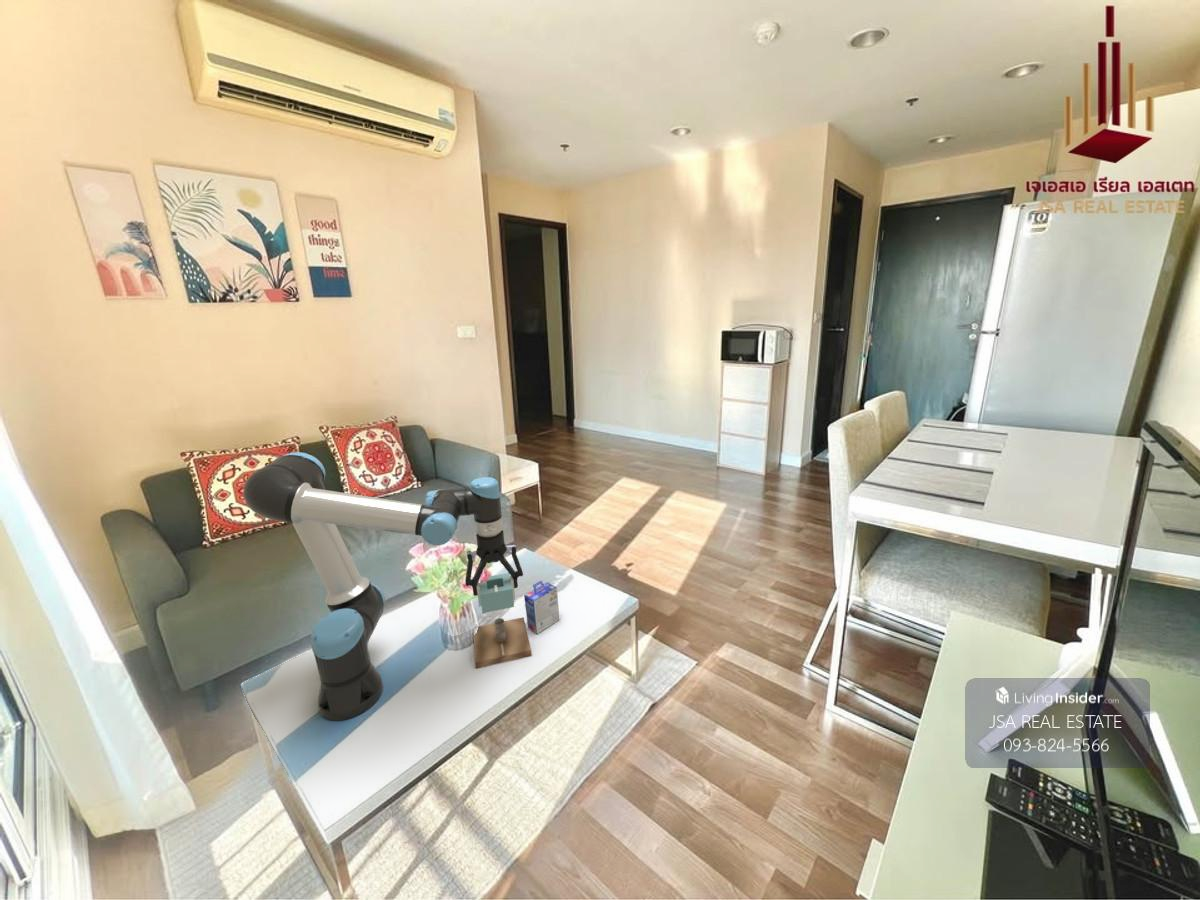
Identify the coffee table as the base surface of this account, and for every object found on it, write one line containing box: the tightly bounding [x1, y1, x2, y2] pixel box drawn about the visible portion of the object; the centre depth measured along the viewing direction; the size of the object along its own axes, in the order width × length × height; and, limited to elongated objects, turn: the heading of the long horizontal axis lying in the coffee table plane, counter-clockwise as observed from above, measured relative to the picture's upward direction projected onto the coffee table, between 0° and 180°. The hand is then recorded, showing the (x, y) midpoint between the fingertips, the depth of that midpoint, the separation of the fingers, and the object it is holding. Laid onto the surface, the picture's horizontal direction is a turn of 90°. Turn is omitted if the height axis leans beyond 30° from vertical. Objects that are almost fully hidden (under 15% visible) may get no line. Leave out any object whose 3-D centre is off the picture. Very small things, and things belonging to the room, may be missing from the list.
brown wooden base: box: [473, 616, 533, 669], centre depth 140 cm, size 16×16×8 cm
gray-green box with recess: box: [479, 572, 515, 614], centre depth 136 cm, size 9×9×6 cm
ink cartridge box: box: [523, 580, 560, 635], centre depth 148 cm, size 10×6×14 cm, turn 137°
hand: (496, 600), depth 137 cm, fingers closed on gray-green box with recess, 9 cm apart
